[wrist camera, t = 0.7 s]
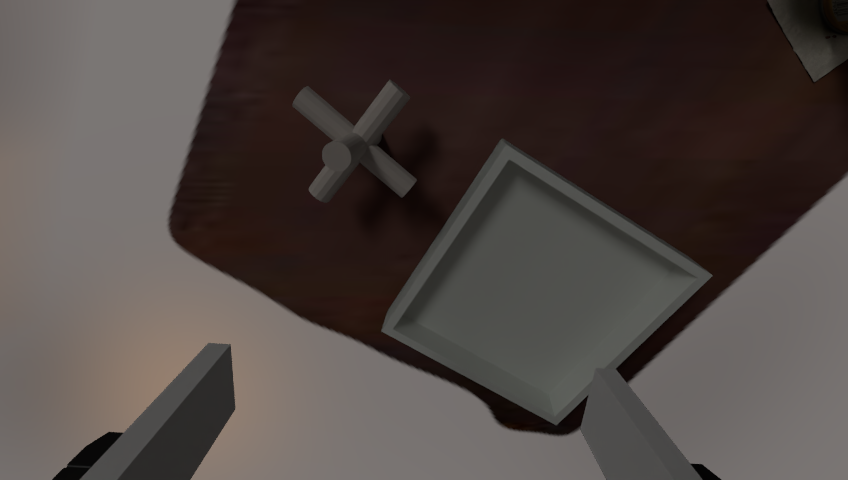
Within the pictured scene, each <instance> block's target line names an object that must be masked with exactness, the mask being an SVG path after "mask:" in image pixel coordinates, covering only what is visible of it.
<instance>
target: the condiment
mask: <svg viewBox="0 0 848 480" xmlns="http://www.w3.org/2000/svg"><path fill="white" fill-rule="evenodd" d="M767 1H768V3H769V5H770V6H771V8H772V11H773V13H774V15H775V17H776V19H777V20H778V22H779V24H780V25H781V27H782V29H783V32H784V33H785V35H786V37H787V38H788V40H789V41H790V43H791V45H792V47H793V50H794V51H795V52H796V53H797V55H798V56H799V57H800V59H801V61H802V63H803V65H804V67H805V69H806V70H807V71H808V73H809V74H810V76H811V78H812V79H813V81H814V82H815V81H817V80H818V79H820V78H821V77H823V76H824V75H826V74H827V73H829V72H830V71H831V70H832V69H834V68H835V67H836V66H838V65H840V64H841V63H843V62H844V61H846V60H847V59H848V0H767ZM833 35H836V36H837V37H836V38H833V37H832V36H833ZM825 36H830V38H829V39H825Z"/></svg>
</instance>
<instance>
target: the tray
mask: <svg viewBox="0 0 848 480" xmlns="http://www.w3.org/2000/svg"><path fill="white" fill-rule="evenodd" d="M712 276H713V275H712V274H710V273H709V272H708V271H706V270H705V269H704V268H703V267H701V266H700V265H699V264H697V263H696V262H695V261H694V260H692V259H691V258H690V257H688V256H687V255H685V254H683V253H682V252H680V251H679V250H677V249H676V248H674V247H672V246H671V245H669V244H668V243H666V242H665V241H663V240H661V239H660V238H658V237H657V236H655V235H654V234H652V233H650V232H649V231H647V230H646V229H644V228H643V227H641V226H639V225H638V224H636V223H635V222H633V221H632V220H630V219H628V218H627V217H625V216H624V215H622V214H621V213H619V212H617V211H616V210H614V209H613V208H611V207H610V206H608V205H606V204H605V203H603V202H602V201H600V200H599V199H597V198H595V197H594V196H592V195H591V194H589V193H588V192H586V191H584V190H583V189H581V188H580V187H578V186H577V185H575V184H573V183H572V182H570V181H569V180H567V179H566V178H564V177H562V176H561V175H559V174H558V173H556V172H555V171H553V170H551V169H550V168H548V167H547V166H545V165H544V164H542V163H540V162H539V161H537V160H536V159H534V158H533V157H531V156H529V155H528V154H526V153H525V152H523V151H522V150H520V149H518V148H517V147H515V146H514V145H512V144H511V143H509V142H507V141H506V140H504V139H503V138H502V139H501V140H500V142H499V143H498V145H497V146H496V148H495V149H494V151H493V152H492V154H491V155H490V157H489V158H488V160H487V161H486V163H485V164H484V166H483V167H482V169H481V170H480V172H479V173H478V175H477V176H476V178H475V179H474V181H473V182H472V184H471V185H470V187H469V189H468V190H467V192H466V193H465V195H464V196H463V198H462V199H461V201H460V202H459V204H458V205H457V207H456V208H455V210H454V211H453V213H452V214H451V216H450V217H449V219H448V220H447V222H446V223H445V225H444V226H443V228H442V229H441V231H440V232H439V234H438V235H437V237H436V238H435V240H434V241H433V243H432V245H431V246H430V248H429V249H428V251H427V252H426V254H425V255H424V257H423V258H422V260H421V261H420V263H419V264H418V266H417V267H416V269H415V270H414V272H413V273H412V275H411V276H410V278H409V279H408V281H407V282H406V284H405V285H404V287H403V288H402V290H401V291H400V293H399V294H398V296H397V297H396V299H395V300H394V302H393V304H392V305H391V307H390V308H389V310H388V312H387V315H386V318H385V321H384V324H383V327H382V330H381V331H382V332H384V333H386V334H388V335H389V336H391V337H393V338H395V339H397V340H399V341H401V342H402V343H404V344H406V345H408V346H410V347H412V348H414V349H415V350H417V351H419V352H421V353H423V354H425V355H427V356H428V357H430V358H432V359H434V360H436V361H438V362H440V363H441V364H443V365H445V366H447V367H449V368H451V369H453V370H454V371H456V372H458V373H460V374H462V375H464V376H466V377H467V378H469V379H471V380H473V381H475V382H477V383H479V384H480V385H482V386H484V387H486V388H488V389H490V390H492V391H493V392H495V393H497V394H499V395H501V396H503V397H505V398H506V399H508V400H510V401H512V402H514V403H516V404H518V405H519V406H521V407H523V408H525V409H527V410H529V411H531V412H533V413H534V414H536V415H538V416H540V417H542V418H544V419H546V420H547V421H549V422H551V423H553V424H555V425H557V424H558V423H559V422H560V421H561V420H562V419H564V418H565V417H566V416H567V415H568V414H569V413H570V412H571V411H572V410H573V409H574V408H575V407H576V406H577V405H578V404H579V403H580V402H581V401H582V400H583V399H584V398H585V397H586V396H588V395H589V392H590V388H591V384H592V380H593V376H594V372H595V368H601V369H616V368H617V367H618V366H619V365H620V364H621V363H622V362H623V361H624V360H625V359H626V358H627V357H628V356H629V355H630V354H631V353H632V352H633V351H635V350H636V349H637V348H638V347H639V346H640V345H641V344H642V343H643V342H644V341H645V340H646V339H647V338H648V337H649V336H650V335H651V334H652V333H653V332H654V331H655V330H656V329H657V328H659V327H660V326H661V325H662V324H663V323H664V322H665V321H666V320H667V319H668V318H669V317H670V316H671V315H672V314H673V313H674V312H675V311H676V310H677V309H678V308H679V307H680V306H682V305H683V304H684V303H685V302H686V301H687V300H688V299H689V298H690V297H691V296H692V295H693V294H694V293H695V292H696V291H697V290H698V289H699V288H700V287H701V286H702V285H703V284H704V283H706V282H707V281H708V280H709V279H710V278H711V277H712Z"/></svg>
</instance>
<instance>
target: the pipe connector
mask: <svg viewBox="0 0 848 480" xmlns="http://www.w3.org/2000/svg"><path fill="white" fill-rule="evenodd" d="M409 99H410V97H409V96H408V94H407V93H406V92H405V91H404V90H403V89H402V88H400V87H399V86H398V85H397V84H396V83H394V82H393V81H391V80H389V81H388V82H387V84H386V85H385V86H384V88H383V89H382V90H381V92H380V93H379V94H378V96H377V97H376V99H375V100H374V101H373V103H372V104H371V105H370V107H369V108H368V109H367V111H366V112H365V113H364V115H363V116H362V117H361V119H360V120H359V121H358V123H357V124H356V125H355V126H354V125H353V124H351V123H350V122H349V121H348V120H347V119H346V118H344V117H343V116H342V115H341V114H340V113H339V112H337V111H336V110H335V109H334V108H333V107H332V106H330V105H329V104H328V103H327V102H326V101H325V100H323V99H322V98H321V97H320V96H319V95H318V94H316V93H315V92H314V91H313V90H312V89H311V88H309V87H308V86H307V87H305V88H304V89H303V90H302V91H300V93H299V94H298V95H297V96H296V98H295V100H294V102H293V107H294V108H295V109H297V110H298V111H299V112H300V113H301V114H303V115H304V116H305V117H306V118H307V119H308V120H310V121H311V122H312V123H313V124H314V125H316V126H317V127H318V128H319V129H320V130H322V131H323V132H324V133H325V134H326V135H328V136H329V137H330V138H331V139H332V140H333V141H332V142H330V143H328V144H327V145H326V146H325V147H324V149H323V152H322V158H323V162H324V163H325V167H324V168H323V169H322V171H321V172H320V173H319V175H318V176H317V177H316V179H315V180H314V181H313V183H312V184H311V185H310V187H309V191H310V193H311V194H312V195H313V196H314V197H315V198H316V199H318V200H320V201H322V202H325V203H326V202H329V201H330V199H331V198H332V197H333V196H334V194H335V193H336V192H337V191H338V189H339V188H340V187H341V185H342V184H343V183H344V182H345V180H346V179H347V178H348V177H349V175H350V174H351V173H352V171H353V170H354V169H355V168H356V166H357V165H358V164H359V163H361V164H362V165H363V166H364V167H366V168H367V169H368V170H369V171H370V172H372V173H373V174H374V175H375V176H376V177H378V178H379V179H380V180H381V181H382V182H384V183H385V184H386V185H387V186H388V187H390V188H391V189H392V190H393V191H394V192H395V193H397V194H398V195H399V196H400V197H401V198H402V197H403V196H404V195H405V194H406V193H407V192H408V191H409V190H410V189H411V187H412V186H413V185H414V183H415V182H416V181H417V179H415V178H414V177H413V176H412V175H411V174H410V173H408V172H407V171H406V170H405V169H404V168H403V167H401V166H400V165H399V164H398V163H397V162H396V161H394V160H393V159H392V158H391V157H390V156H389V155H387V154H386V153H385V152H384V151H383V150H382V149H380V148H379V147H378V146H377V144H379V143H380V141H381V139H382V133H383V132H384V131H385V129H386V128H387V127H388V126H389V124H390V123H391V122H392V121H393V119H394V118H395V117H396V115H397V114H398V113H399V112H400V110H401V109H402V108H403V107H404V105H405V104H406V103H407V101H408V100H409Z"/></svg>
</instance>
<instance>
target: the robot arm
mask: <svg viewBox="0 0 848 480" xmlns="http://www.w3.org/2000/svg"><path fill="white" fill-rule="evenodd" d="M234 410H235V399H234V385H233V371H232V358H231V346H230V344H229V345H228V344H215V343H208V344H207V345H206V346H205V347H204V348H203V349H202V351H201V352H200V353H199V354H198V355H197V356H196V357H195V358H194V359H193V360H192V361H191V362H190V363H189V364H188V365H187V366H186V367H185V369H184V370H183V371H182V372H181V373H180V374H179V375H178V376H177V377H176V378H175V379H174V380H173V381H172V382H171V383H170V384H169V385H168V387H167V388H166V389H165V390H164V391H163V392H162V393H161V394H160V395H159V396H158V397H157V398H156V399H155V400H154V401H153V402H152V403H151V405H150V406H149V407H148V408H147V409H146V410H145V411H144V412H143V413H142V414H141V415H140V416H139V417H138V418H137V419H136V420H135V421H134V423H133V424H132V425H131V426H130V427H129V428H128V429H127V430H126V431H125V432H124V433H117V432H108V433H107V434H105V435H103V436H102V437H100V438H98V439H97V440H95V441H94V442H92V443H91V444H89V445H87V446H86V447H85V448H84V449H83V450H82V451H81V452H80V453H79V454H78V455H77V456H76V457H74V458H73V459H72V461H70V462H69V463H68V466H67V467H66V468H63V469H62V470H61V471H60V472H59V473H58V474H57V475H56V476H55V477H54V478H53V479H52V480H190V479H191V478H192V476H193V475H194V473H195V471H196V470H197V468H198V466H199V465H200V464H201V462H202V460H203V458H204V457H205V455H206V454H207V452H208V451H209V449H210V448H211V446H212V445H213V443H214V442H215V440H216V438H217V437H218V435H219V434H220V432H221V430H222V429H223V427H224V426H225V424H226V423H227V421H228V420H229V418H230V416H231V415H232V413H233V412H234ZM580 430H581V432H582V434H583V436H584V437H585V439H586V441H587V443H588V445H589V447H590V449H591V451H592V453H593V455H594V457H595V459H596V461H597V462H598V464H599V466H600V468H601V470H602V472H603V474H604V476H605V478H606V480H721V479H720V478H718V477H717V476H716V475H715V474H713V473H712V472H711V471H710V470H708V469H707V468H706V467H704V466H703V465H702V464H690V463H689V462H688V461H687V459H686V458H685V457H684V456H683V454H682V453H681V452H680V450H679V449H678V448H677V446H676V445H675V444H674V443H673V441H672V440H671V439H670V438H669V436H668V435H667V434H666V432H665V431H664V430H663V429H662V427H661V426H660V425H659V424H658V422H657V421H656V420H655V419H654V417H653V416H652V415H651V413H650V412H649V411H648V410H647V408H646V407H645V406H644V404H643V403H642V402H641V401H640V399H639V398H638V397H637V396H636V394H635V393H634V392H633V391H632V389H631V388H630V387H629V385H628V384H627V383H626V382H625V380H624V379H623V378H622V377H621V375H620V374H619V373H618V371H617V370H616V369H601V368H595V372H594V376H593V380H592V384H591V388H590V392H589V396H588V400H587V404H586V408H585V412H584V416H583V420H582V424H581V429H580Z"/></svg>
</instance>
